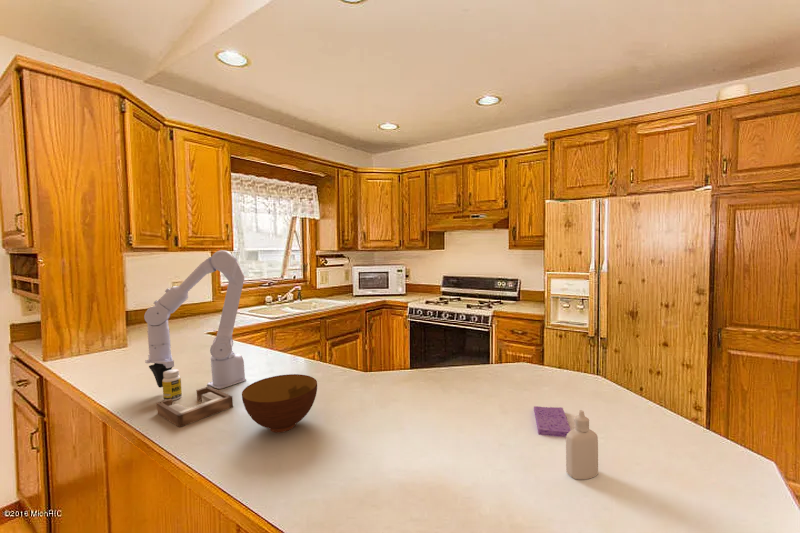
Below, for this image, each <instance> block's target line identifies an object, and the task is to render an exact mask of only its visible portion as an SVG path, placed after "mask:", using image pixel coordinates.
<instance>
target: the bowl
mask: <svg viewBox="0 0 800 533" xmlns="http://www.w3.org/2000/svg"><path fill="white" fill-rule="evenodd" d="M317 392H318V382H317V379H316V378H314V377H313V376H310V375H306V374H298V373H297V374H295V373H294V374H293V373H292V374H281V375H276V376H270V377H266V378H262V379H260V380H257V381H255V382H253V383H251V384H249V385H247V386H246V387H245V388H244V389H242V392H241V398H242V404H243V406H244V410H245V411H246V412H247V414H248V416H249V418H251V419H252V420H253V421H254V422H255V423H256V424H257V425H258V426H261V427H264V428H266V429H269V430H270V432H273V433H285V432H288V431H290V429H291V430H293V429H294V428H295V427H294V426H296V425H297V424H298V423H299V422H300V421H302V420H303V419H304V418H305V417H306V416H307V415H308V414H309V412H310V410H311V409H312V408H313V407H312V406H313V405H314V403H315V400H316V397H317ZM293 427H294V428H293ZM284 431H285V432H284Z"/></svg>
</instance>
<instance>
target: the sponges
mask: <svg viewBox="0 0 800 533" xmlns="http://www.w3.org/2000/svg"><path fill="white" fill-rule="evenodd" d="M533 411H534V412H533V413H534V416H535V423H536V428H537V433H538V435H540V436H541V435H542V436H552V437H562V438H563V437H565V438H566V435H567V434H568V432H570V431H571V430H572V429H571V427H570V425H569V424H570V423H569V422H568V419H567V416H566V413H565V410H564V408H563V407H558V406H557V407H556V406H555V407H552V406H550V407H547V406H536V405H534V406H533Z"/></svg>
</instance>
